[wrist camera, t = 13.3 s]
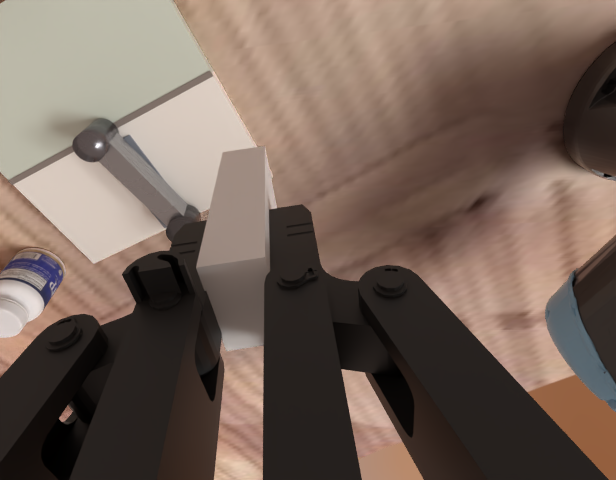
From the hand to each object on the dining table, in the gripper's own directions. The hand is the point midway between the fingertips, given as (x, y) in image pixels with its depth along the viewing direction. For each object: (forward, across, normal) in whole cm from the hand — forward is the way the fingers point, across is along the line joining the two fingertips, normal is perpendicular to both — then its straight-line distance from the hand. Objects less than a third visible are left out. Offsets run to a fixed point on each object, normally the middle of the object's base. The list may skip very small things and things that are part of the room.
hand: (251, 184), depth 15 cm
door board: (+24, -15, -4) cm, 29 cm away
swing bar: (+23, -12, -9) cm, 27 cm away
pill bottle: (+25, -28, -18) cm, 41 cm away
